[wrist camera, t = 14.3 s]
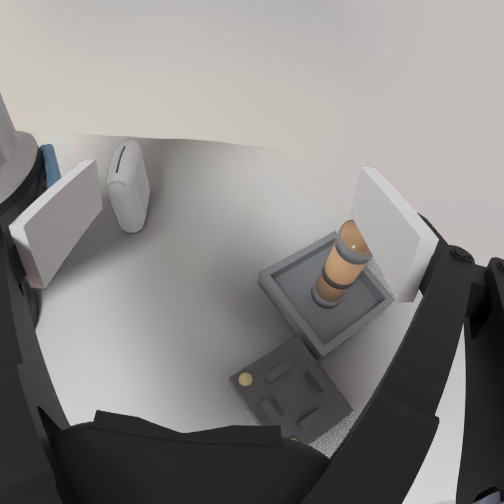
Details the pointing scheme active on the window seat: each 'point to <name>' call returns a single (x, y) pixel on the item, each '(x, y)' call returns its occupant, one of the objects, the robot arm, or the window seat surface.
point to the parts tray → (308, 312)
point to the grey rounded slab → (128, 186)
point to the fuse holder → (291, 393)
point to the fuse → (341, 266)
